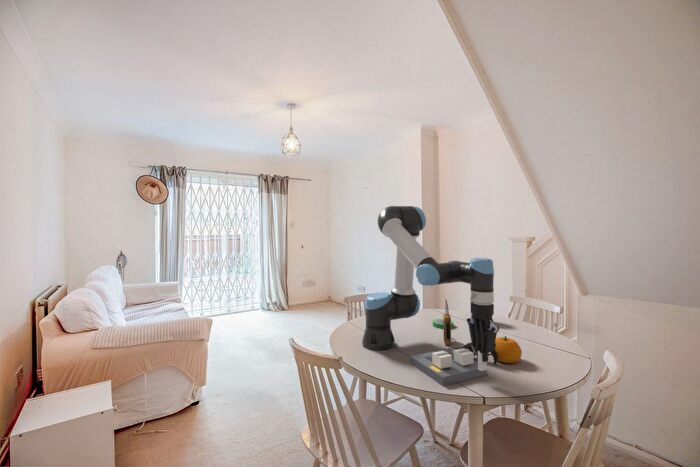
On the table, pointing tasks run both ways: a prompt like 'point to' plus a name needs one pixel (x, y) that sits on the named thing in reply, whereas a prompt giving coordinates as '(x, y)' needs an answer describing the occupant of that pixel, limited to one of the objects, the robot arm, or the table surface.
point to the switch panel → (449, 373)
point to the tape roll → (441, 323)
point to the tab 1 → (442, 359)
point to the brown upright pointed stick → (448, 328)
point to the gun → (472, 349)
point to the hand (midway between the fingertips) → (482, 369)
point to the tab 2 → (463, 356)
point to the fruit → (507, 350)
